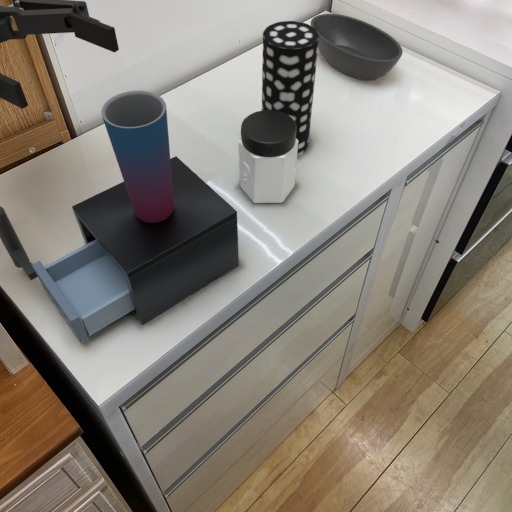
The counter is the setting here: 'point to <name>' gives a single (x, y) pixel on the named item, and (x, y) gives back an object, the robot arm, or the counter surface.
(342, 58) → the bowl
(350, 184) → the counter surface
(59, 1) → the robot arm
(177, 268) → the drawer box
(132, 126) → the cup
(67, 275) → the blue-grey drawer tray
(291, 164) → the jar
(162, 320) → the counter surface
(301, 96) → the spotted tube
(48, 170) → the counter surface
